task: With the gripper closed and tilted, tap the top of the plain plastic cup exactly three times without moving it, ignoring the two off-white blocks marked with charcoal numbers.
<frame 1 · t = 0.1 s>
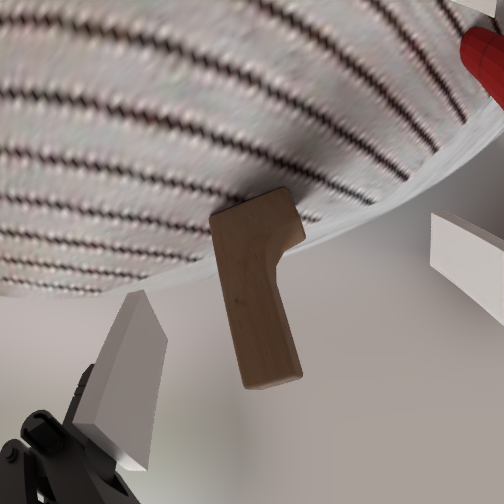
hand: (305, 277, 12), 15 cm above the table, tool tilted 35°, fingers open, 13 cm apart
wooden block: (251, 210, 32), on the table
plastic cup: (475, 46, 16), on the table
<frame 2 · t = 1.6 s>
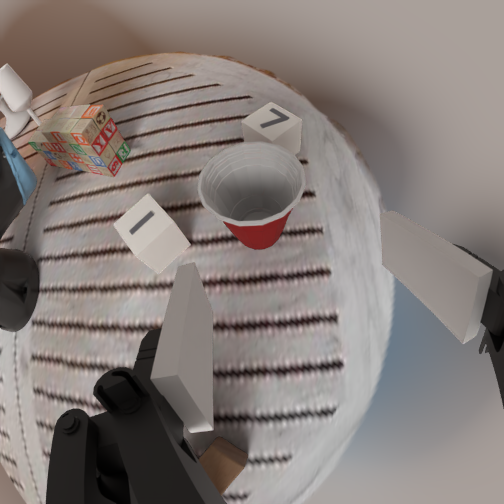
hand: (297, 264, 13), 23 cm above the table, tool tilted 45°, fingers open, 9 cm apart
wooden block: (214, 467, 28), on the table
stack of blocks: (86, 159, 48), on the table
marked block 7: (273, 151, 43), on the table
champagne flute: (47, 132, 54), on the table
flower in vase: (19, 130, 59), on the table
plastic cup: (258, 229, 39), on the table
marked block 1: (162, 245, 39), on the table
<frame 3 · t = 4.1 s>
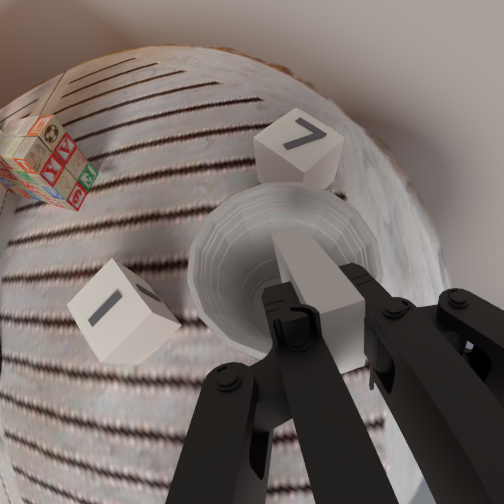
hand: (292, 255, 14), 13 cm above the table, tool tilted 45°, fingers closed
stack of blocks: (48, 184, 35), on the table
marked block 7: (296, 180, 31), on the table
plastic cup: (280, 304, 26), on the table, touching gripper
marked block 1: (142, 322, 26), on the table
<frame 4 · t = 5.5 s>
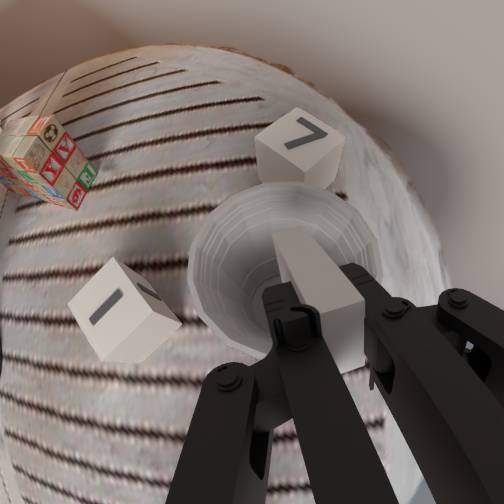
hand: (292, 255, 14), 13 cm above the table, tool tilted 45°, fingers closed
stack of blocks: (47, 183, 35), on the table
marked block 7: (297, 179, 31), on the table
plastic cup: (281, 303, 26), on the table, touching gripper
marked block 1: (142, 321, 26), on the table
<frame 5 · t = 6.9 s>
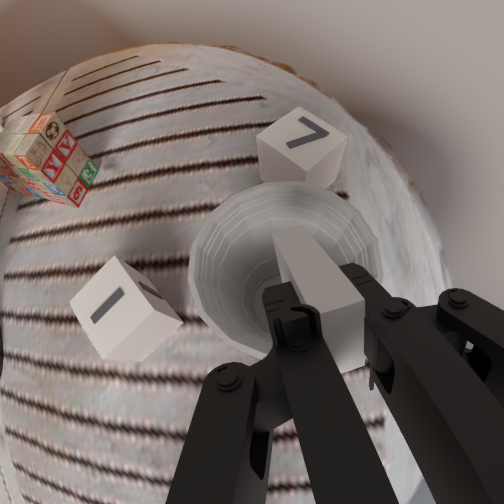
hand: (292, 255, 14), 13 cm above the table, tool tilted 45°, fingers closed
stack of blocks: (48, 181, 36), on the table
marked block 7: (299, 178, 31), on the table
plastic cup: (282, 302, 26), on the table, touching gripper
marked block 1: (144, 319, 27), on the table
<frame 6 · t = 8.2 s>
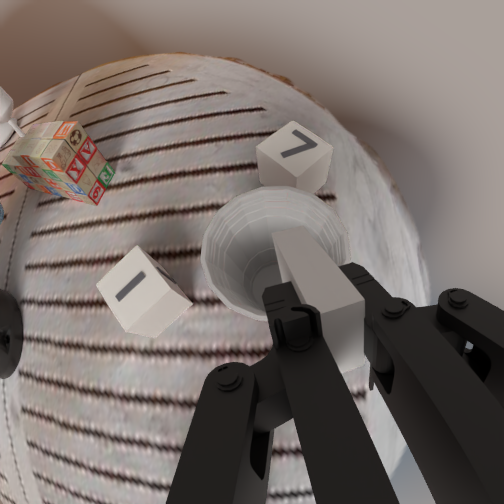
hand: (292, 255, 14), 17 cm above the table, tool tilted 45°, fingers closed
stack of blocks: (67, 181, 41), on the table
marked block 7: (293, 182, 36), on the table
champagne flute: (31, 145, 47), on the table
flower in vase: (5, 140, 52), on the table
plastic cup: (276, 286, 31), on the table
marked block 1: (158, 302, 32), on the table
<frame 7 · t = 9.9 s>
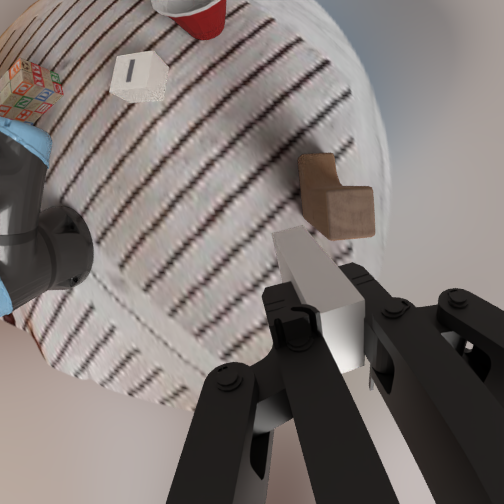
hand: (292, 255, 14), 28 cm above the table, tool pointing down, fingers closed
wooden block: (315, 187, 41), on the table
stack of blocks: (28, 116, 39), on the table
plastic cup: (206, 27, 35), on the table
marked block 1: (149, 85, 38), on the table
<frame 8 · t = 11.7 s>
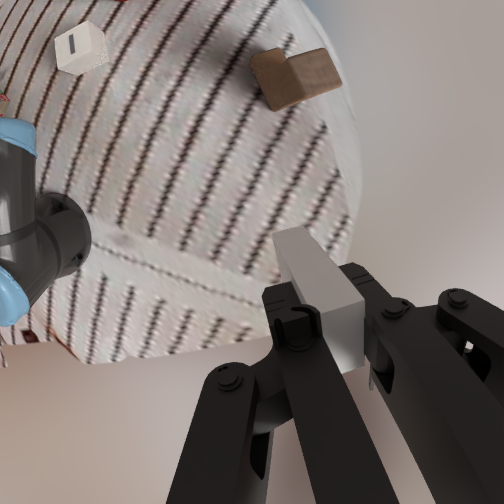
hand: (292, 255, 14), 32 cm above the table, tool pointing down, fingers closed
wooden block: (273, 82, 38), on the table
marked block 1: (90, 54, 32), on the table
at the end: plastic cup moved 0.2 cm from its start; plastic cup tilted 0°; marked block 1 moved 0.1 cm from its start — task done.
